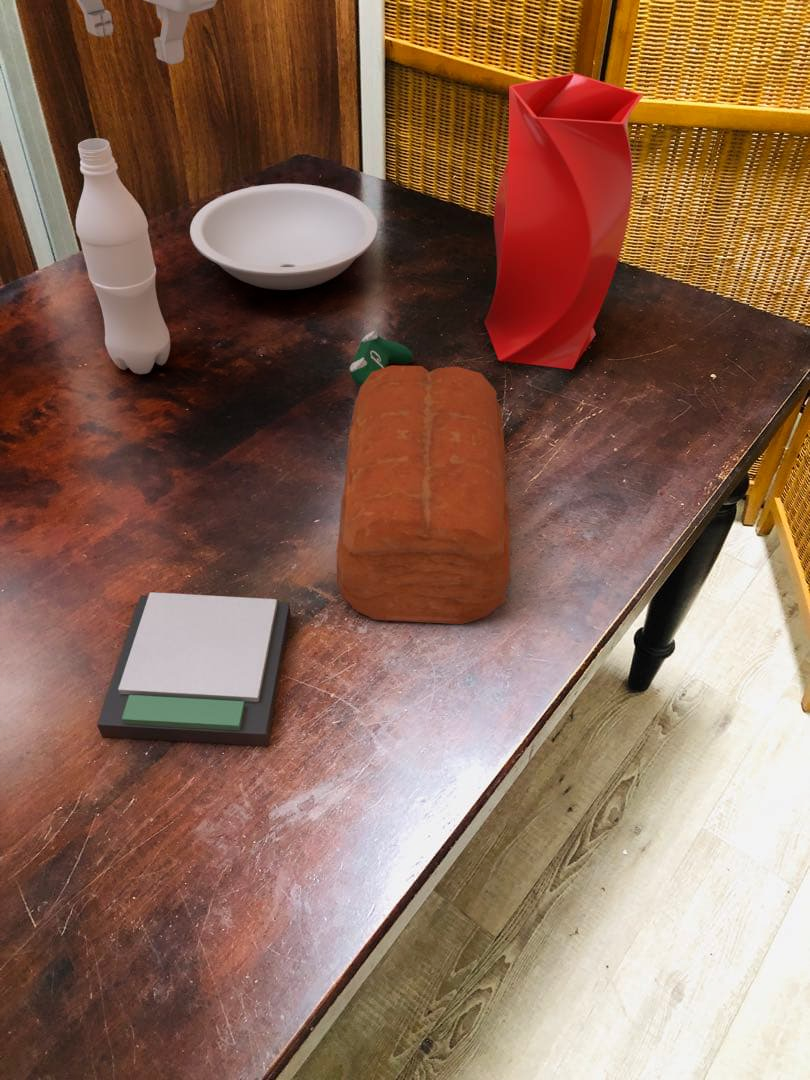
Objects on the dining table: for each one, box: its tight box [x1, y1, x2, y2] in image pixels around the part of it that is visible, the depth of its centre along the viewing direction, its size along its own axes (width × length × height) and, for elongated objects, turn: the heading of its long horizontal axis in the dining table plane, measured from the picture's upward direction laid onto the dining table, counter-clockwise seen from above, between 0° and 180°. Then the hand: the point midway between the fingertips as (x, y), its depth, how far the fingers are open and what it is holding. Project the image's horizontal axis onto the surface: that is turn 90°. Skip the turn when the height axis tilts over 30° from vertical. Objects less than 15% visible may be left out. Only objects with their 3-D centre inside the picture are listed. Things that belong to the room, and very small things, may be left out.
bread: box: [336, 364, 511, 625], centre depth 82 cm, size 16×27×11 cm, turn 178°
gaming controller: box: [349, 330, 414, 388], centre depth 101 cm, size 9×4×6 cm
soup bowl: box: [189, 183, 379, 291], centre depth 115 cm, size 24×24×7 cm
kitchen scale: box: [96, 591, 292, 747], centre depth 72 cm, size 13×13×2 cm
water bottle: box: [75, 137, 171, 375], centre depth 94 cm, size 7×7×25 cm
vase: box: [483, 72, 644, 370], centre depth 99 cm, size 15×14×28 cm
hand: (135, 47), depth 76 cm, fingers open, 8 cm apart
